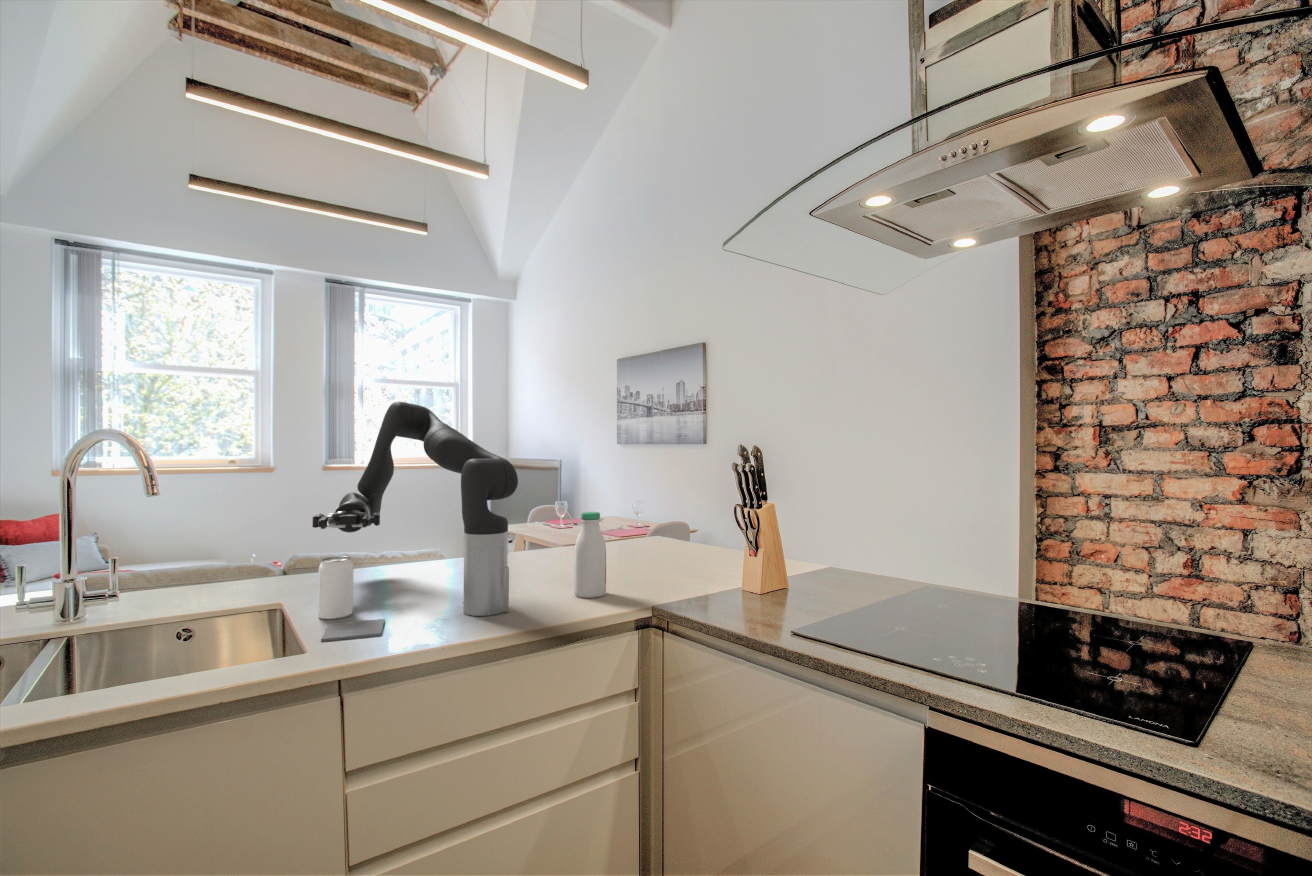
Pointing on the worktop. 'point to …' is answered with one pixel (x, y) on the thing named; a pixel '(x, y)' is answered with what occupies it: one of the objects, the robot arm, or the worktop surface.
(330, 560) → the can
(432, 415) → the robot arm
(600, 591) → the milk bottle
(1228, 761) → the worktop surface
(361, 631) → the coaster
